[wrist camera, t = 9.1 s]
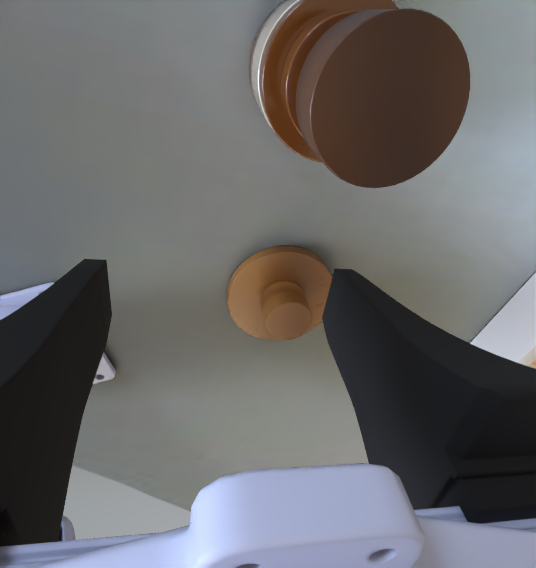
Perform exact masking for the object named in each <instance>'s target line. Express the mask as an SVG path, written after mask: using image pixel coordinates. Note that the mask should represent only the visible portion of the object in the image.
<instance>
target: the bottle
mask: <svg viewBox="0 0 536 568" xmlns="http://www.w3.org/2000/svg"><path fill="white" fill-rule="evenodd" d="M370 9H399V8H398V7H397V6H396V5H395V4H394V3H393V2H392V1H391V0H285V1H283V2H282V3H281V4H279V5H278V6H277V7H276V8H275V9H274V10H273V11H272V12H271V13H270V14H269V15H268V17H267V18H266V19H265V20H264V22H263V24H262V25H261V27H260V29H259V31H258V33H257V35H256V37H255V40H254V43H253V46H252V50H251V56H250V65H249V73H250V83H251V88H252V92H253V95H254V98H255V100H256V102H257V105H258V106H259V109H260V110H261V112H262V114H263V116H264V117H265V119H266V120H267V122H268V124H269V125H270V127H271V128H272V129H273V131H274V132H275V133H276V135H277V136H278V137H279V138H280V139H281V141H282V142H283V143H284V144H285V145H286V146H287V147H288V148H290V149H291V150H292V151H294V152H295V153H297V154H299V155H300V156H302V157H304V158H307V159H310V160H313V161H317V162H322V161H321V160H320V158H319V157H318V156H317V155H316V154H315V152H314V151H313V150H312V149H311V148H310V146H309V145H308V143H307V142H306V140H305V138H304V137H303V135H302V132H301V130H300V127H299V124H298V120H297V115H296V89H297V83H298V79H299V75H300V72H301V69H302V67H303V64H304V62H305V60H306V58H307V56H308V54H309V52H310V51H311V49H312V48H313V46H314V45H315V43H316V42H317V41H318V40H319V39H320V37H321V36H322V35H323V34H324V33H325V32H326V31H327V30H328V29H329V28H330V27H332V26H333V25H334V24H336V23H337V22H339V21H340V20H342V19H344V18H345V17H347V16H349V15H351V14H354V13H357V12H360V11H365V10H370Z"/></svg>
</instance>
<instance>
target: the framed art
mask: <svg viewBox="0 0 536 568" xmlns="http://www.w3.org/2000/svg"><path fill="white" fill-rule="evenodd" d="M470 344H472V345H474V346H477V347H479V348H481V349H483V350H486V351H488V352H491V353H493V354H496V355H498V356H501V357H503V358H506V359H509V360H512V361H514V362H517V363H520V364H523V365H526V366H529V367H532V368H535V369H536V273H535V274H534V275H533V276H532V277H531V278H530V279H529V280H528V281H527V282H526V283H525V284H524V285H523V287H522V288H521V289H520V290H519V291H518V292H517V293H516V294H515V295H514V296H513V297H512V298H511V299H510V301H509V302H508V303H507V304H506V305H505V306H504V307H503V308H502V309H501V310H500V311H499V312H498V313H497V315H496V316H495V317H494V318H493V319H492V320H491V321H490V322H489V323H488V324H487V325H486V326H485V328H484V329H483V330H482V331H481V332H480V333H479V334H478V335H477V336H476V337H475V338H474V339H473V340H472V342H471V343H470Z"/></svg>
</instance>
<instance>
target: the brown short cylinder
mask: <svg viewBox="0 0 536 568" xmlns="http://www.w3.org/2000/svg"><path fill="white" fill-rule="evenodd" d="M469 91H470V70H469V63H468V59H467V55H466V52H465V50H464V47H463V45H462V43H461V41H460V39H459V38H458V36H457V34H456V33H455V32H454V31H453V30H452V28H451V27H450V26H449V25H448V24H447V23H445V22H444V21H443V20H442V19H440V18H438V17H437V16H435V15H433V14H431V13H428V12H425V11H422V10H417V9H370V10H365V11H360V12H357V13H354V14H351V15H349V16H347V17H345V18H344V19H342V20H340V21H339V22H337V23H336V24H334V25H333V26H332V27H330V28H329V29H328V30H327V31H326V32H325V33H324V34H323V35H322V36H321V37H320V39H319V40H318V41H317V42H316V43H315V45H314V46H313V48H312V49H311V51H310V52H309V54H308V56H307V58H306V60H305V62H304V64H303V67H302V69H301V72H300V75H299V79H298V83H297V89H296V115H297V120H298V124H299V127H300V130H301V132H302V135H303V137H304V138H305V140H306V142H307V143H308V145H309V146H310V148H311V149H312V150H313V151H314V152H315V154H316V155H317V156H318V157H319V158H320V160H321V161H322V162H323V163H324V164H325V166H326V167H327V168H328V169H329V170H330V171H331V172H332V173H333V174H335V175H336V176H337V177H339V178H340V179H342V180H344V181H346V182H348V183H350V184H353V185H356V186H361V187H367V188H380V187H387V186H392V185H396V184H399V183H402V182H404V181H406V180H408V179H411V178H412V177H414V176H416V175H417V174H419V173H421V172H422V171H423V170H425V169H426V168H427V167H429V166H430V165H431V164H432V163H433V162H434V161H435V160H436V159H437V158H438V157H439V156H440V155H441V154H442V153H443V152H444V151H445V149H446V148H447V146H448V145H449V144H450V142H451V141H452V139H453V138H454V136H455V134H456V133H457V131H458V128H459V126H460V124H461V122H462V120H463V117H464V114H465V111H466V107H467V103H468V99H469Z"/></svg>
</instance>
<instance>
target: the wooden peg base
mask: <svg viewBox="0 0 536 568" xmlns="http://www.w3.org/2000/svg"><path fill="white" fill-rule="evenodd" d="M331 281H332V275H331V273H330V271H329V269H328V267H327V266H326V264H325V263H324V262H323V260H322V259H321V258H319V257H318V256H317V255H316V254H314V253H312V252H311V251H308V250H306V249H303V248H299V247H294V246H276V247H271V248H267V249H264V250H262V251H259V252H257V253H255V254H253V255H252V256H250V257H249V258H247V259H246V260H245V261H243V262H242V263H241V264H240V265H239V266H238V268H237V269H236V270H235V272H234V273H233V275H232V277H231V279H230V281H229V284H228V288H227V302H228V309H229V313H230V315H231V317H232V319H233V321H234V322H235V323H236V325H237V326H238V327H239V328H240V329H242V330H243V331H244V332H246V333H247V334H249V335H251V336H254V337H257V338H260V339H265V340H290V339H294V338H297V337H299V336H301V335H303V334H304V333H306V332H308V331H310V330H311V329H313V328H314V327H316V326H317V325H318V324H319V323H320V322H321V321H322V320H323V319H322V316H323V312H324V308H325V304H326V300H327V296H328V293H329V289H330V285H331Z"/></svg>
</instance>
